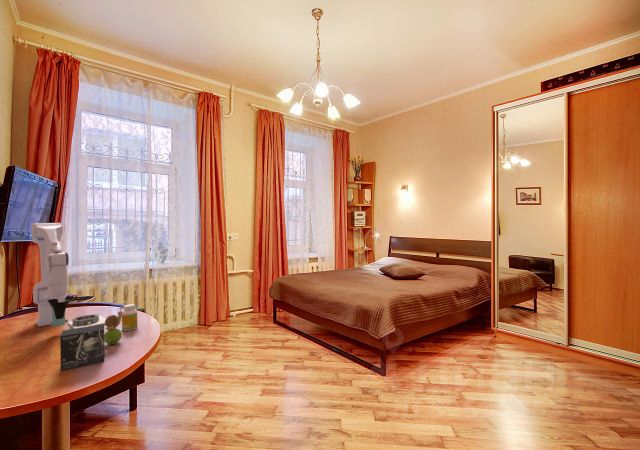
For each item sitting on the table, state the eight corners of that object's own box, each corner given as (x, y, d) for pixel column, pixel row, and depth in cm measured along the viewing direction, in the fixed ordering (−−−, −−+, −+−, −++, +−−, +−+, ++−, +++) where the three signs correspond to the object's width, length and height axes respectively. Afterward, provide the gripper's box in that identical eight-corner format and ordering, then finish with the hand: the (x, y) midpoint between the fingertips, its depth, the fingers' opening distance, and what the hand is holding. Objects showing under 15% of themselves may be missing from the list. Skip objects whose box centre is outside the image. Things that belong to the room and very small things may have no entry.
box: (59, 371, 90) (59, 336, 90) (63, 363, 95) (62, 329, 95) (104, 362, 96) (103, 328, 96) (105, 355, 101) (104, 323, 101)
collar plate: (67, 323, 135) (67, 317, 135) (100, 316, 144) (100, 310, 144) (75, 330, 125) (75, 324, 125) (110, 323, 134) (110, 316, 134)
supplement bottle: (130, 331, 123) (129, 307, 123) (118, 330, 124) (118, 306, 124) (140, 327, 129) (140, 303, 128) (129, 326, 130) (129, 303, 130)
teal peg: (48, 325, 121) (48, 305, 121) (66, 322, 125) (66, 302, 125) (50, 327, 119) (50, 307, 119) (68, 324, 123) (68, 304, 123)
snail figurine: (127, 340, 113) (127, 308, 113) (111, 347, 107) (110, 313, 107) (117, 339, 115) (116, 307, 115) (99, 345, 109) (99, 311, 109)
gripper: (41, 282, 124) (42, 316, 124) (47, 287, 114) (48, 323, 114) (64, 280, 129) (64, 312, 129) (71, 284, 119) (72, 319, 119)
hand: (58, 317), depth 122 cm, fingers closed on teal peg, 4 cm apart
